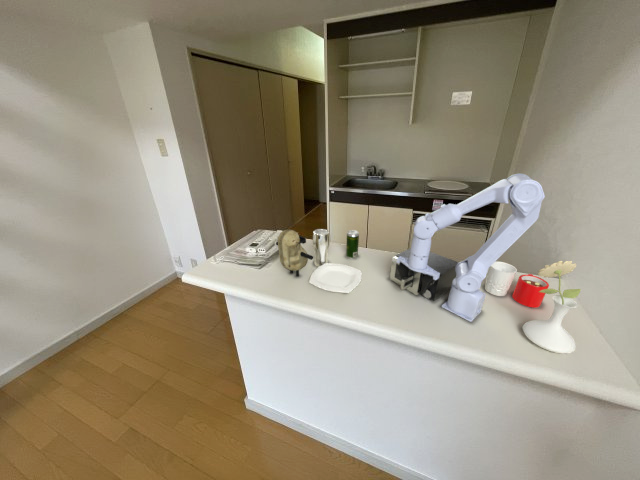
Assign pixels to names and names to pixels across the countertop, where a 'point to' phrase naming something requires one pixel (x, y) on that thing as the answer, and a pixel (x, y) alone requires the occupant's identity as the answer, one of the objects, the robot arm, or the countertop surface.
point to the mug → (529, 290)
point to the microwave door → (406, 278)
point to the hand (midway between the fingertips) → (413, 288)
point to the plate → (336, 277)
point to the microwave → (443, 267)
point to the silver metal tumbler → (320, 246)
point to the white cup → (499, 278)
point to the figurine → (292, 251)
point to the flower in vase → (554, 314)
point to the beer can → (352, 244)
